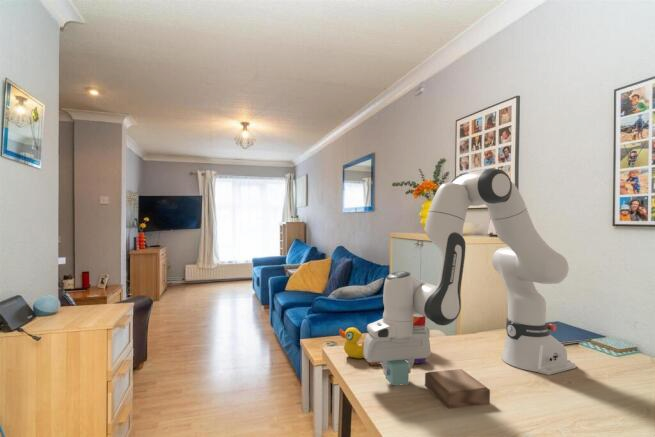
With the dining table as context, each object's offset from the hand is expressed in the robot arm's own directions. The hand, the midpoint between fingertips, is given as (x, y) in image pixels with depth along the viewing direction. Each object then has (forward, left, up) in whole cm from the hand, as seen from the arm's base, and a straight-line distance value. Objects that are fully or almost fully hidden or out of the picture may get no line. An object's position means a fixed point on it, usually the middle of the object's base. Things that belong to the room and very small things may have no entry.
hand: (396, 373), depth 99 cm
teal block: (0, 0, -2) cm, 2 cm away
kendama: (-6, -12, -3) cm, 13 cm away
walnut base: (-13, +10, -2) cm, 17 cm away
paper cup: (-18, -23, -2) cm, 29 cm away
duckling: (+7, -19, -2) cm, 20 cm away
